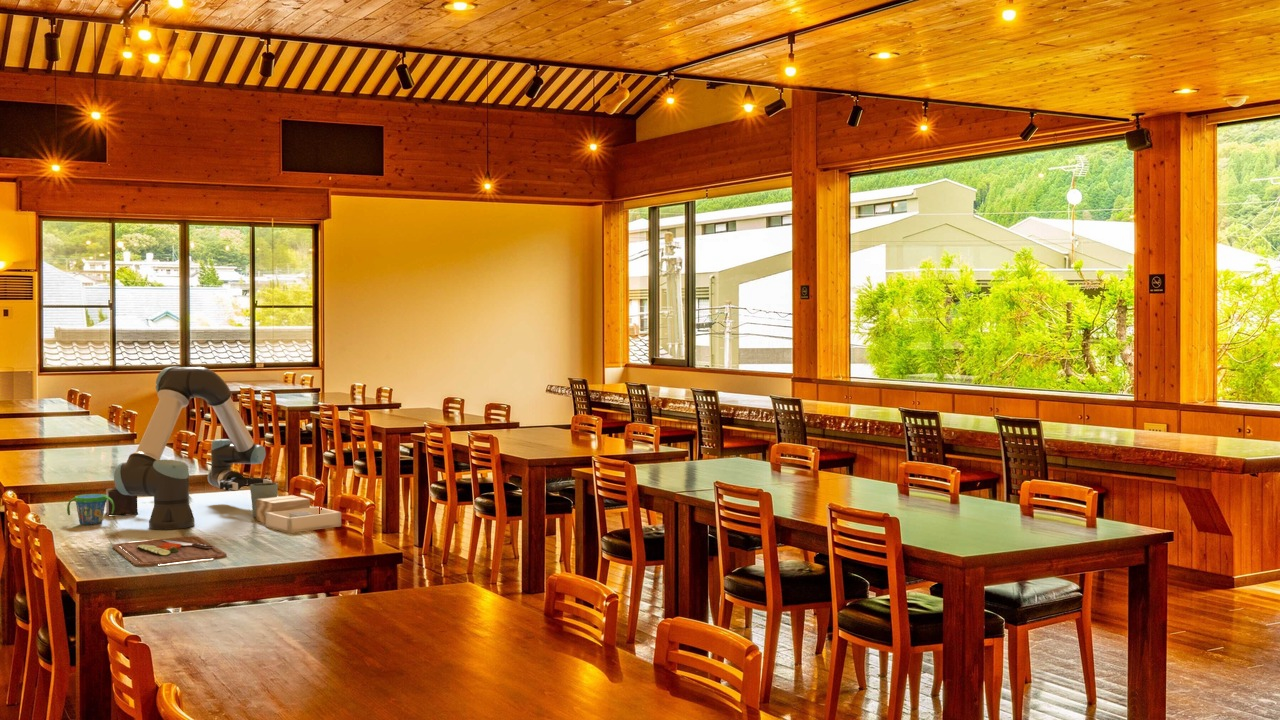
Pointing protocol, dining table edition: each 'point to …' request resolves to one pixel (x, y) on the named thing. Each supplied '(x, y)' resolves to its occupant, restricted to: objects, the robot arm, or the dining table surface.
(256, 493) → the grey green tapered cup
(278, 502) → the block
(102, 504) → the snack cup
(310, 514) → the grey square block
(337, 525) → the box
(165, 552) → the chopping board
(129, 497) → the manual coffee grinder
